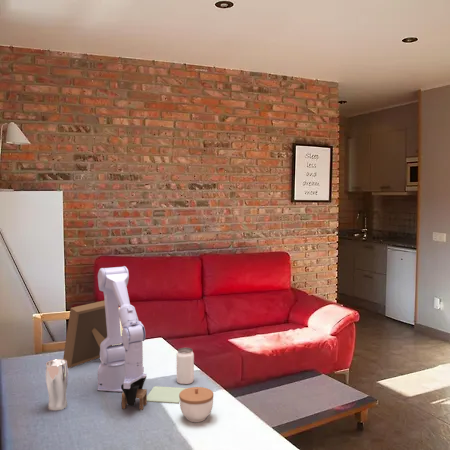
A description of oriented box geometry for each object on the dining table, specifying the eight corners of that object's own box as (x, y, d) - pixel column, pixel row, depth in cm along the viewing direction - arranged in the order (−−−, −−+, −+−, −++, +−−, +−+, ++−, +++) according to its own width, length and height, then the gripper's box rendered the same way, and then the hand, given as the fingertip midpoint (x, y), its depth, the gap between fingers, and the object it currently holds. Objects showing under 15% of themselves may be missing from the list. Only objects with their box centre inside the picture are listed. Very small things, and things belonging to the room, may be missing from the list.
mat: (144, 401, 160) (144, 400, 159) (154, 387, 171) (154, 386, 171) (178, 403, 158) (178, 402, 158) (186, 389, 170) (186, 388, 170)
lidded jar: (200, 429, 140) (200, 398, 140) (172, 420, 146) (172, 390, 146) (219, 415, 150) (219, 386, 149) (192, 407, 155) (192, 379, 155)
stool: (121, 408, 154) (121, 393, 154) (126, 402, 159) (126, 388, 158) (142, 410, 153) (142, 395, 153) (146, 403, 158) (146, 389, 157)
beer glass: (47, 413, 151) (46, 367, 150) (45, 404, 157) (44, 360, 156) (70, 408, 154) (69, 364, 153) (66, 400, 160) (66, 357, 159)
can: (191, 385, 173) (191, 353, 172) (174, 384, 174) (174, 352, 174) (195, 378, 179) (195, 347, 179) (179, 377, 181) (179, 346, 180)
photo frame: (62, 365, 193) (61, 305, 191) (104, 351, 211) (104, 296, 209) (85, 374, 184) (85, 311, 183) (127, 358, 202) (127, 301, 200)
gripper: (138, 369, 147) (139, 412, 148) (152, 354, 162) (152, 393, 162) (117, 368, 148) (117, 410, 149) (132, 353, 163) (132, 391, 163)
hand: (134, 401), depth 156 cm, fingers open, 5 cm apart
